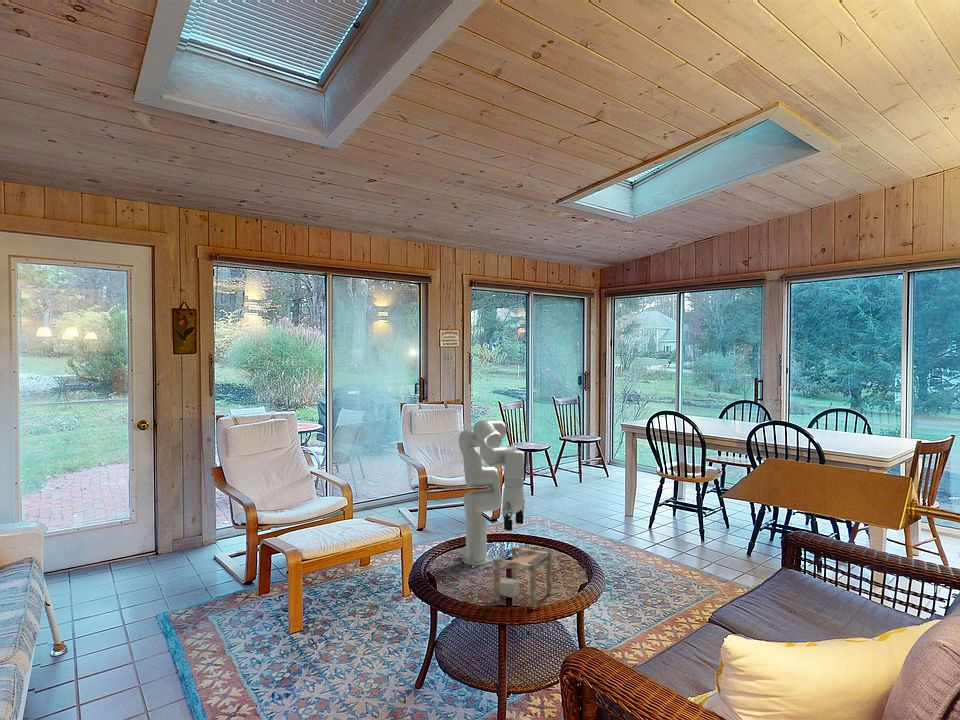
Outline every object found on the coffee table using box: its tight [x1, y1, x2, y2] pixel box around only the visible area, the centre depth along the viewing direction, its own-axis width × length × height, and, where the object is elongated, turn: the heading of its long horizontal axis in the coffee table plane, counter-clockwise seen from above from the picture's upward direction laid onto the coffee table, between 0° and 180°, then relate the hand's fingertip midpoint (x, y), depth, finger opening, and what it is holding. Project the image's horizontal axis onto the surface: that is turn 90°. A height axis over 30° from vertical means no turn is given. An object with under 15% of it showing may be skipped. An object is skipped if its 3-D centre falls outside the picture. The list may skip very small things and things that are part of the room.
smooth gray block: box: [499, 577, 520, 599], centre depth 205 cm, size 5×5×6 cm
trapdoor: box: [502, 553, 544, 570], centre depth 202 cm, size 12×12×1 cm
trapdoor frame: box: [493, 546, 553, 608], centre depth 202 cm, size 17×17×16 cm
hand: (513, 526), depth 205 cm, fingers open, 9 cm apart
